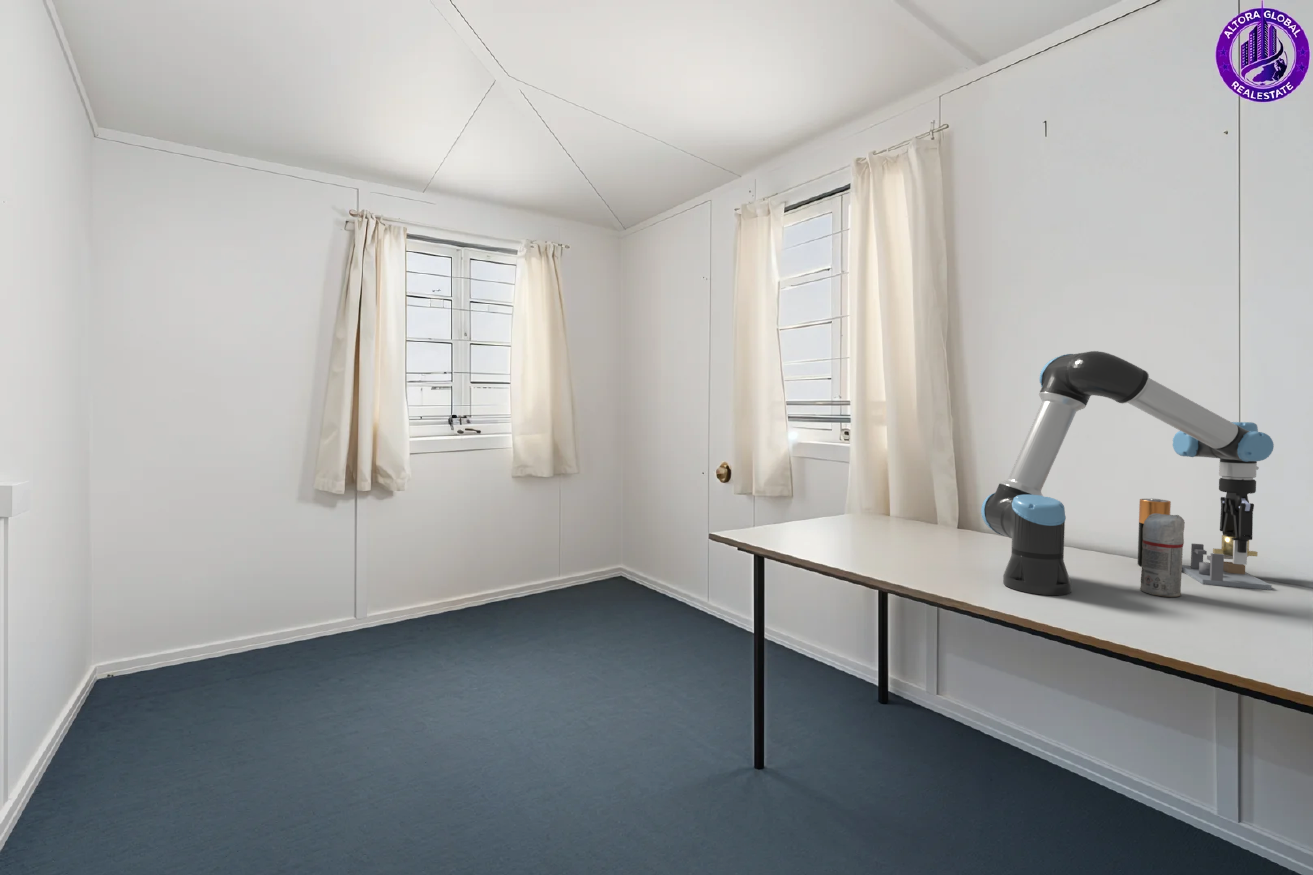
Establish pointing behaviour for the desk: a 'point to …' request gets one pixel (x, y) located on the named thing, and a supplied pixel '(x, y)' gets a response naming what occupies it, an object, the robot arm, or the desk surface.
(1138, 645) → the desk surface
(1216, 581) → the base
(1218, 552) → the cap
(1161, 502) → the battery
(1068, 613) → the desk surface
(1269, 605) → the desk surface
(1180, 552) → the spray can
